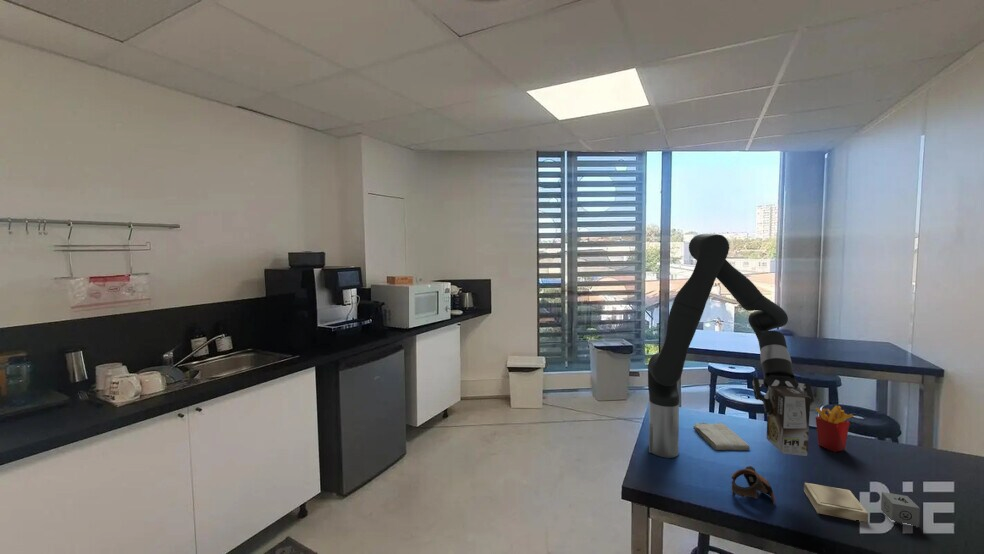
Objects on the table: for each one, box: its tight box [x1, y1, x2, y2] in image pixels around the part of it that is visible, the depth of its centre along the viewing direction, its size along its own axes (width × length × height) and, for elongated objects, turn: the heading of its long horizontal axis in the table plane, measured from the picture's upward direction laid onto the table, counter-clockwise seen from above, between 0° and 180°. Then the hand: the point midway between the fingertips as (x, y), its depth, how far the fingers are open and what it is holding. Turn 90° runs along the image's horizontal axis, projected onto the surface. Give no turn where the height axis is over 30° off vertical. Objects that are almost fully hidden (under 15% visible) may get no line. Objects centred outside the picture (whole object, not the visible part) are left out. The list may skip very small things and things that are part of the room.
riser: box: [803, 481, 869, 523], centre depth 103 cm, size 10×10×3 cm
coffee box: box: [766, 386, 811, 457], centre depth 108 cm, size 9×6×16 cm
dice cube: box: [880, 491, 921, 528], centre depth 98 cm, size 5×5×5 cm
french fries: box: [814, 405, 854, 453], centre depth 131 cm, size 9×8×15 cm
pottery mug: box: [731, 465, 776, 505], centre depth 108 cm, size 12×10×8 cm
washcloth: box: [693, 422, 751, 451], centre depth 141 cm, size 12×18×3 cm, turn 178°
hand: (786, 415), depth 108 cm, fingers closed on coffee box, 7 cm apart
